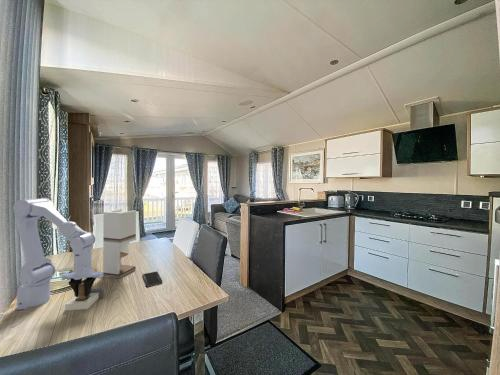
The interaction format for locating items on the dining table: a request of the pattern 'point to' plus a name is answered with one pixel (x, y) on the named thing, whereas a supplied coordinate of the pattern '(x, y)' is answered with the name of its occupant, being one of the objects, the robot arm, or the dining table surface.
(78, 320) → the dining table surface
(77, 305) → the holed block
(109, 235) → the white tower
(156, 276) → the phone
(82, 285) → the dowel
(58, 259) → the dining table surface
